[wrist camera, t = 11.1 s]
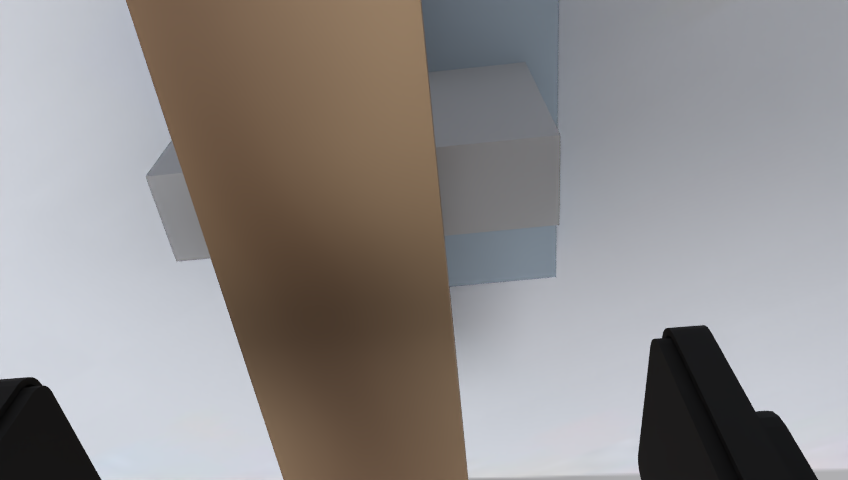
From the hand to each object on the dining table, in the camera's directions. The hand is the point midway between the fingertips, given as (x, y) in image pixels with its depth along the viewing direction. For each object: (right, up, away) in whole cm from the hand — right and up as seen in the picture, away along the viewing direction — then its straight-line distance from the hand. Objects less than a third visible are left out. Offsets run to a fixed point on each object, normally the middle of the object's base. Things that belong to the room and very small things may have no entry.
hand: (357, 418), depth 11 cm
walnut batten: (0, +4, +6) cm, 7 cm away
